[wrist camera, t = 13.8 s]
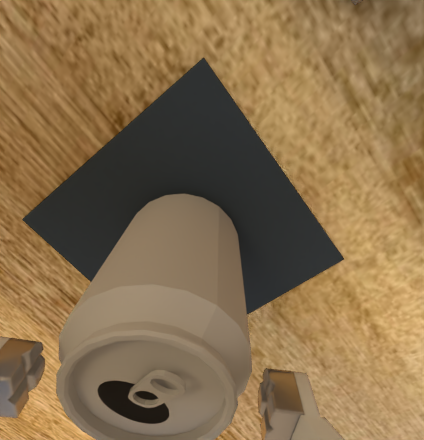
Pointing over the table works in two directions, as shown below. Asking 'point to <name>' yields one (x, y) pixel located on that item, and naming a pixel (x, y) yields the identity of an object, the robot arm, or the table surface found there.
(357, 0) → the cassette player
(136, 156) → the mat
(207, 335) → the can
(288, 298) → the table surface
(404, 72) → the table surface
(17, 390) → the robot arm
